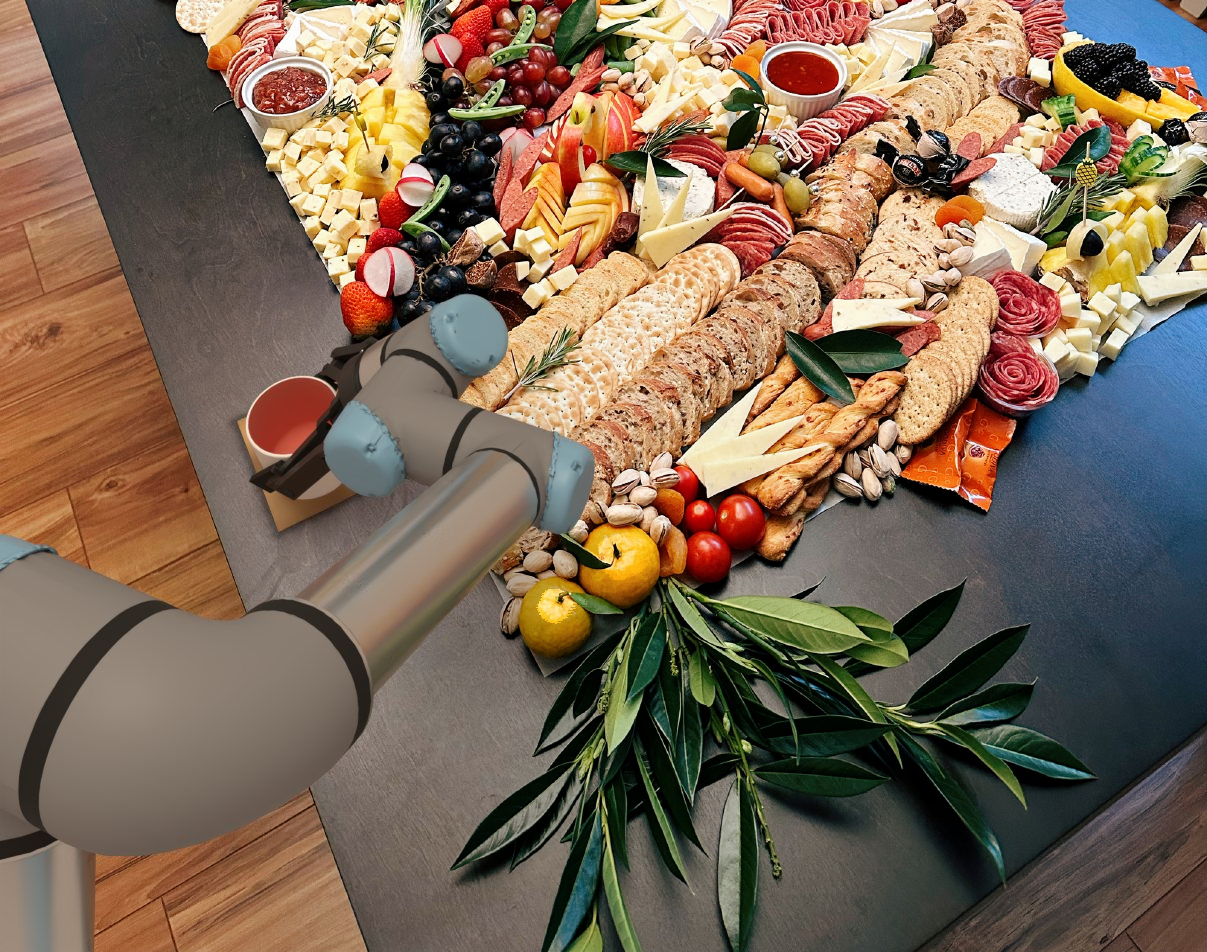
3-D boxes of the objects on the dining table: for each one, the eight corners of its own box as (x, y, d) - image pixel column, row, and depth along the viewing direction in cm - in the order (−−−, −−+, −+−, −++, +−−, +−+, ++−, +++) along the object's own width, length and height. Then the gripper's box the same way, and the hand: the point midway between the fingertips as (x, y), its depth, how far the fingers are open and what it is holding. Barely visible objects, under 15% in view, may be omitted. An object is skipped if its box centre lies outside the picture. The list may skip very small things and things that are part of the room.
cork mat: (381, 481, 129) (381, 480, 129) (278, 532, 125) (278, 531, 125) (334, 377, 139) (333, 376, 139) (237, 422, 135) (237, 421, 135)
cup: (363, 491, 126) (343, 444, 119) (271, 514, 125) (246, 467, 118) (354, 415, 133) (336, 366, 126) (267, 436, 132) (244, 387, 125)
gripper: (382, 501, 107) (268, 552, 121) (452, 308, 122) (343, 372, 136) (316, 463, 104) (207, 520, 118) (395, 270, 119) (291, 340, 133)
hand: (280, 440), depth 127 cm, fingers closed on cup, 10 cm apart
